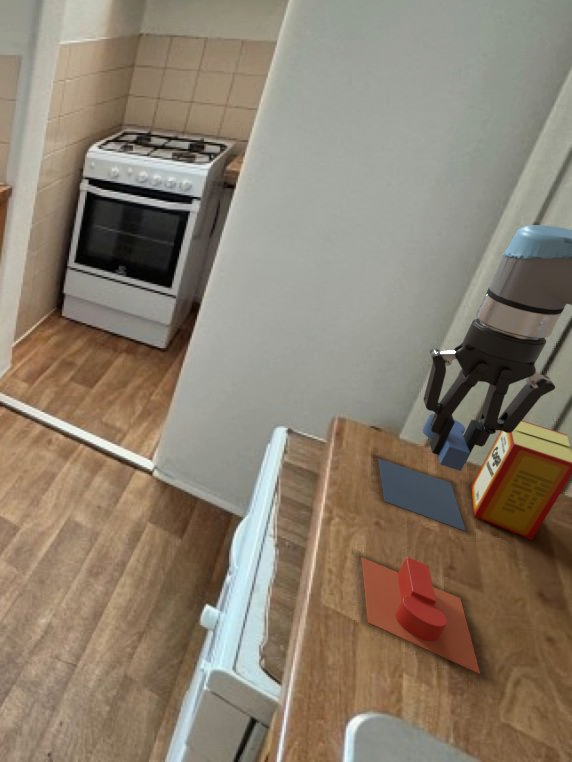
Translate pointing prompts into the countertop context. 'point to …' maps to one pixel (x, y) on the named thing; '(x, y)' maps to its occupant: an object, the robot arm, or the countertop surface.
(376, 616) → the terracotta mat
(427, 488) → the slate mat
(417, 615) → the red keyhole-shaped block
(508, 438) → the baking soda box
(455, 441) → the blue t-shaped piece
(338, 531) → the countertop surface
